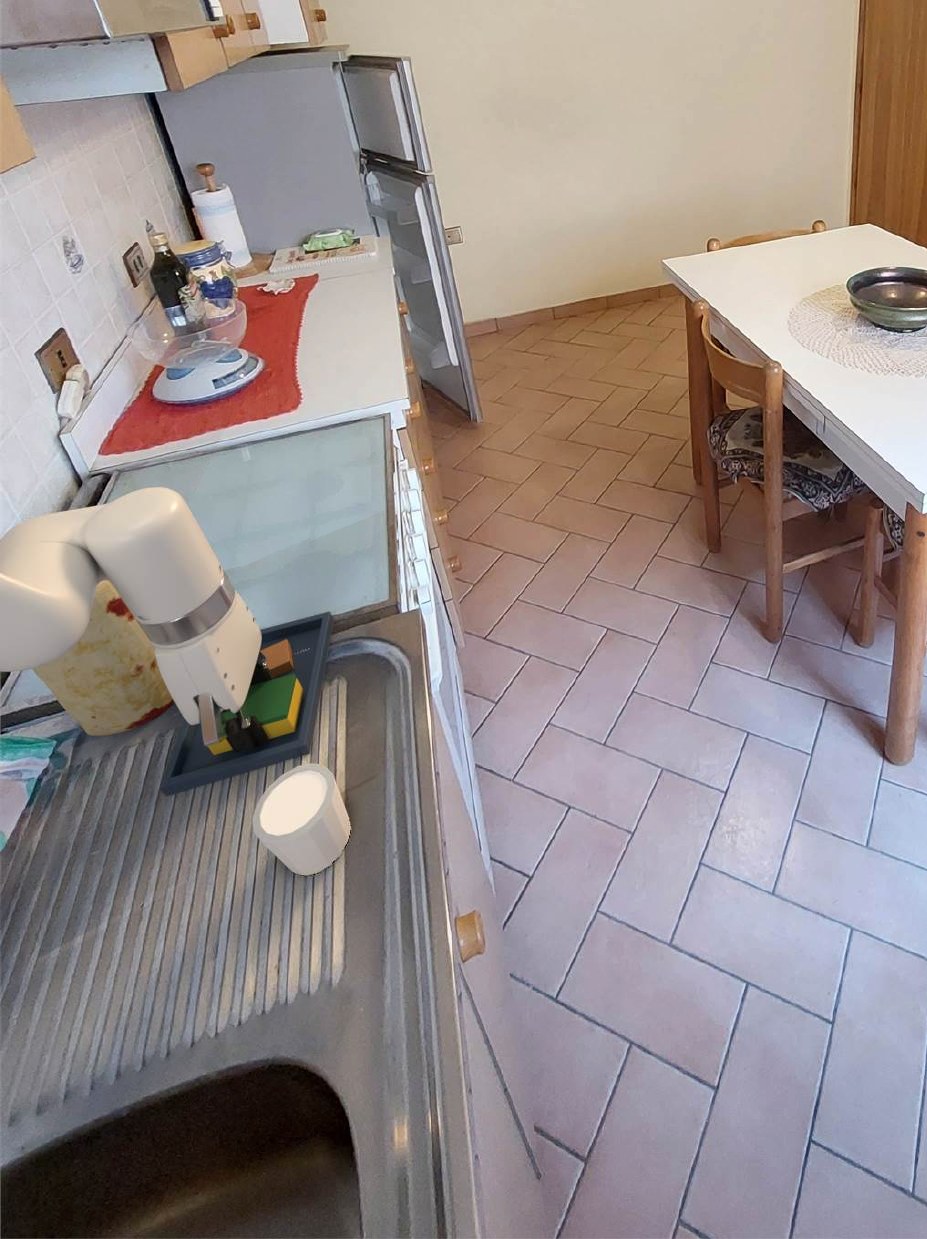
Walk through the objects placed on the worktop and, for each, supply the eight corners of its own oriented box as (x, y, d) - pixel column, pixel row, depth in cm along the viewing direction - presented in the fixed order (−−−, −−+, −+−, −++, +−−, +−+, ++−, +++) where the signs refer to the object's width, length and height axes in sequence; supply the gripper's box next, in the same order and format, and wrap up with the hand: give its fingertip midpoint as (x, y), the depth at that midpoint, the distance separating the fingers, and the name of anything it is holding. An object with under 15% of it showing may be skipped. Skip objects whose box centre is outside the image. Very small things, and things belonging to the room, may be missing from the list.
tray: (168, 799, 73) (159, 787, 72) (217, 654, 88) (210, 642, 87) (311, 756, 75) (304, 744, 74) (335, 622, 90) (330, 610, 89)
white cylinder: (283, 821, 70) (256, 780, 67) (358, 791, 72) (336, 750, 68) (276, 898, 64) (246, 857, 61) (357, 864, 66) (332, 822, 63)
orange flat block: (260, 684, 83) (255, 676, 82) (258, 661, 86) (253, 653, 85) (294, 668, 84) (289, 660, 84) (291, 646, 87) (286, 638, 86)
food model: (88, 762, 77) (-16, 637, 67) (94, 713, 82) (-2, 590, 73) (192, 712, 81) (108, 587, 72) (192, 668, 86) (113, 546, 77)
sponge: (213, 755, 75) (201, 738, 74) (226, 712, 80) (215, 695, 78) (295, 731, 77) (285, 714, 75) (304, 690, 81) (294, 673, 80)
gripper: (175, 551, 76) (242, 663, 85) (107, 695, 61) (196, 812, 70) (252, 533, 77) (310, 645, 86) (203, 669, 63) (279, 787, 72)
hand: (258, 719), depth 78 cm, fingers closed on sponge, 5 cm apart
